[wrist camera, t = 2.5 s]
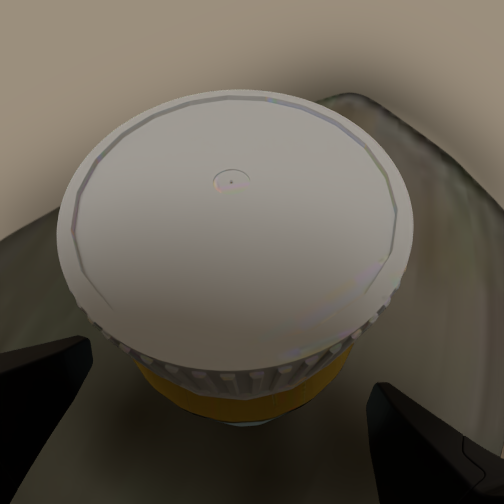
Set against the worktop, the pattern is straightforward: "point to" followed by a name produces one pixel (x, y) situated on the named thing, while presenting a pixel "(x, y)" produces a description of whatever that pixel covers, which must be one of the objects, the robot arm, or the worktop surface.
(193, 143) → the bottle
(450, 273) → the worktop surface
